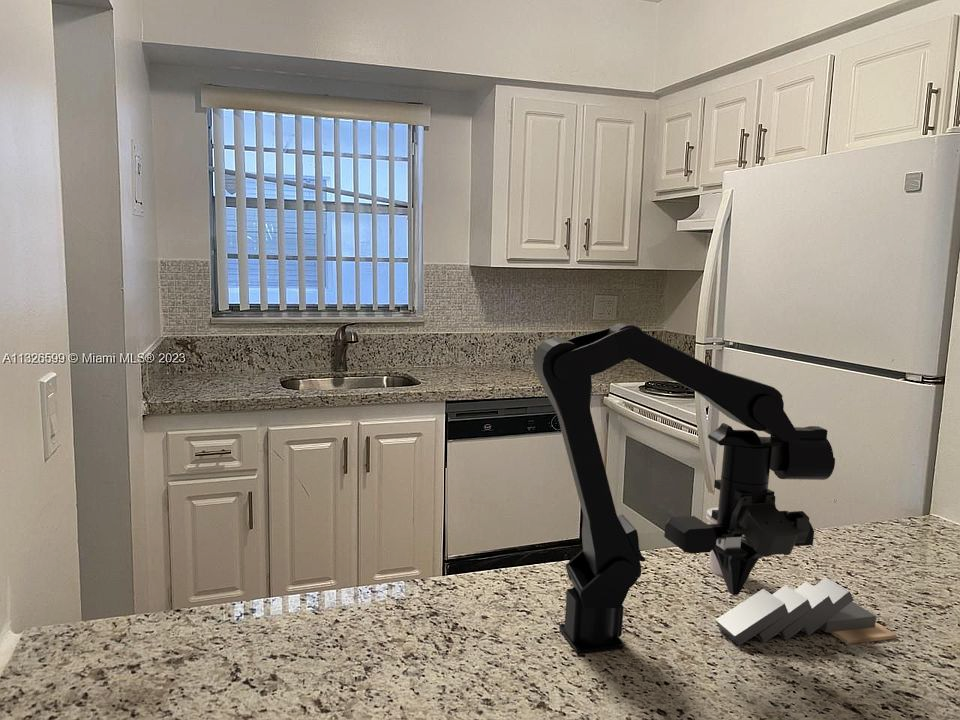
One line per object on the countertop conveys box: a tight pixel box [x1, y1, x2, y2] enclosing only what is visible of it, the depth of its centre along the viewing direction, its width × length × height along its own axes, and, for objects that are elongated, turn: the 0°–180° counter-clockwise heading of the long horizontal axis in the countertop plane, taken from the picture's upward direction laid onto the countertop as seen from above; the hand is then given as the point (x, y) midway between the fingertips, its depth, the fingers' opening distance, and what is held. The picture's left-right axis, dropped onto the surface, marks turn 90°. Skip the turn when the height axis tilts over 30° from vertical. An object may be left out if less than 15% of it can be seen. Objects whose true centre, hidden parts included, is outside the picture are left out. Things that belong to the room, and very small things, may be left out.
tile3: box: [777, 581, 833, 641], centre depth 98 cm, size 2×4×8 cm
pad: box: [829, 621, 897, 645], centre depth 100 cm, size 8×9×1 cm
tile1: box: [715, 588, 788, 647], centre depth 96 cm, size 2×4×8 cm
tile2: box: [754, 584, 812, 644], centre depth 97 cm, size 2×4×8 cm
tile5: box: [818, 601, 877, 633], centre depth 100 cm, size 2×4×8 cm
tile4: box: [800, 577, 855, 637], centre depth 99 cm, size 2×4×8 cm
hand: (733, 593), depth 95 cm, fingers closed
